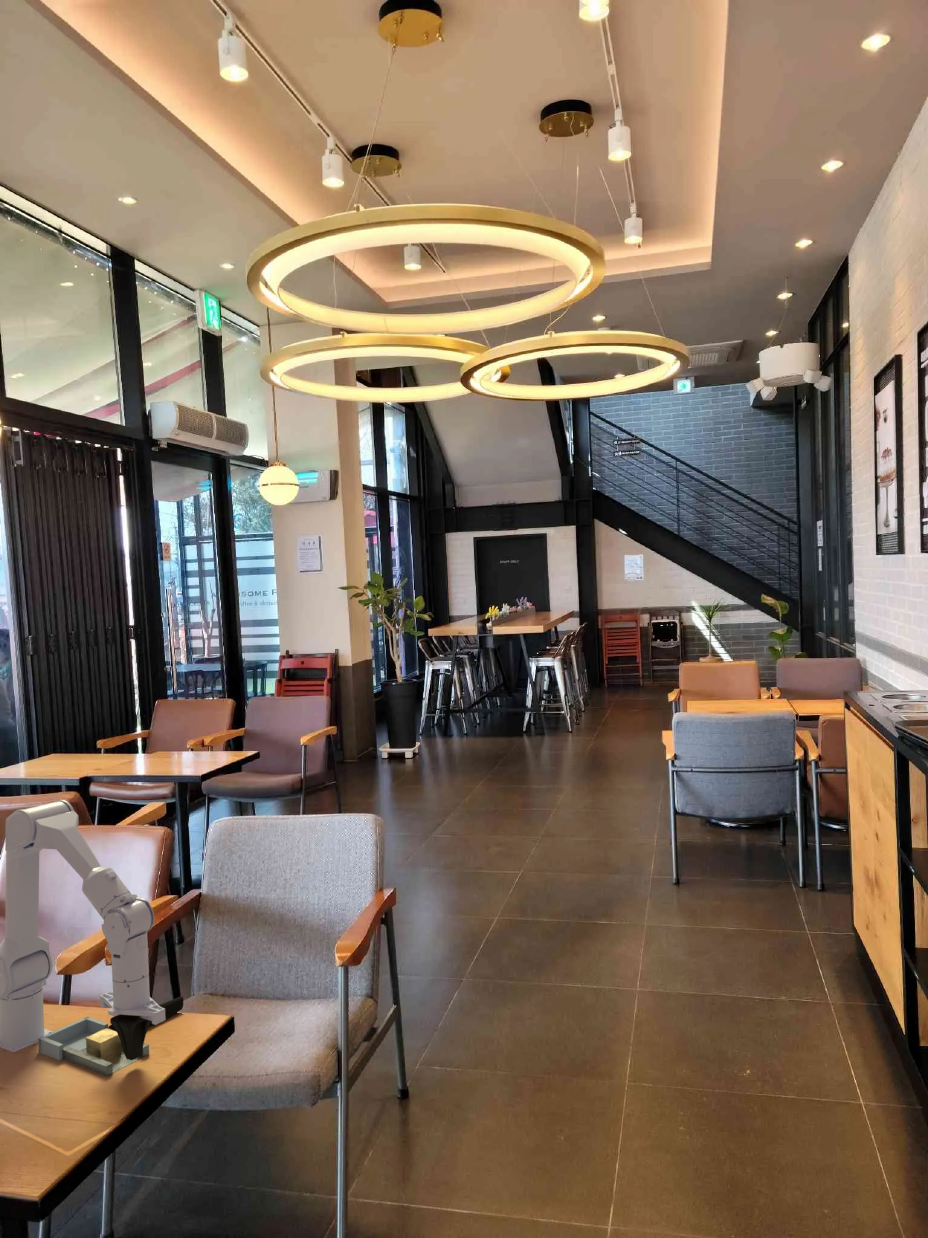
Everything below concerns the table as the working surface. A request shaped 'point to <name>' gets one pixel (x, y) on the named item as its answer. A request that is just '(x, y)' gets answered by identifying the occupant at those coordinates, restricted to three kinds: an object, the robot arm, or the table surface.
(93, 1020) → the tray
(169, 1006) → the electric trimmer
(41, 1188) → the table surface
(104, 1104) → the table surface
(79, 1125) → the table surface
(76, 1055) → the slot bed
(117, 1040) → the yellow cube
